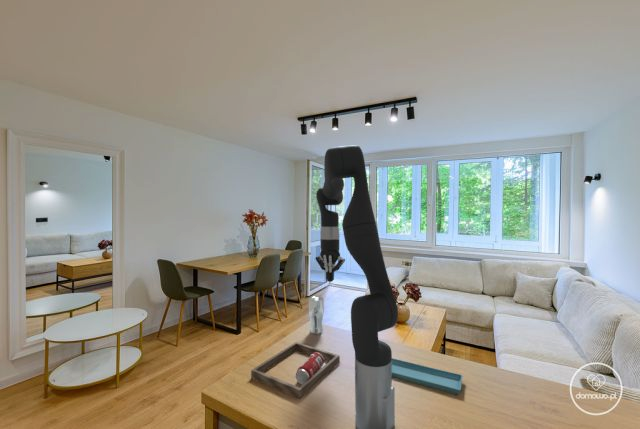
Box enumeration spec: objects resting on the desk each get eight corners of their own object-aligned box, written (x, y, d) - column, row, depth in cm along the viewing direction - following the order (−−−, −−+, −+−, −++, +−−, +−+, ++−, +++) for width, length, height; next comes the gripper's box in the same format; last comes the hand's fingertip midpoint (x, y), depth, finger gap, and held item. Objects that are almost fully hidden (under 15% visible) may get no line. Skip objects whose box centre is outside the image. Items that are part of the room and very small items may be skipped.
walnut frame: (339, 362, 103) (339, 355, 103) (299, 398, 83) (299, 390, 83) (295, 348, 114) (295, 342, 114) (251, 377, 94) (251, 370, 94)
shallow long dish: (374, 373, 96) (374, 366, 96) (383, 361, 104) (383, 354, 104) (460, 398, 83) (460, 390, 83) (462, 382, 91) (462, 374, 91)
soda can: (311, 366, 101) (295, 384, 90) (310, 351, 102) (293, 368, 91) (325, 367, 99) (310, 386, 88) (323, 352, 99) (308, 369, 88)
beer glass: (306, 329, 132) (306, 297, 132) (320, 327, 135) (320, 295, 135) (312, 335, 126) (312, 301, 125) (326, 332, 129) (326, 299, 128)
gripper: (310, 237, 114) (311, 281, 114) (339, 239, 106) (340, 285, 106) (320, 236, 120) (321, 277, 120) (349, 237, 113) (349, 281, 113)
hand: (330, 281), depth 113 cm, fingers closed
